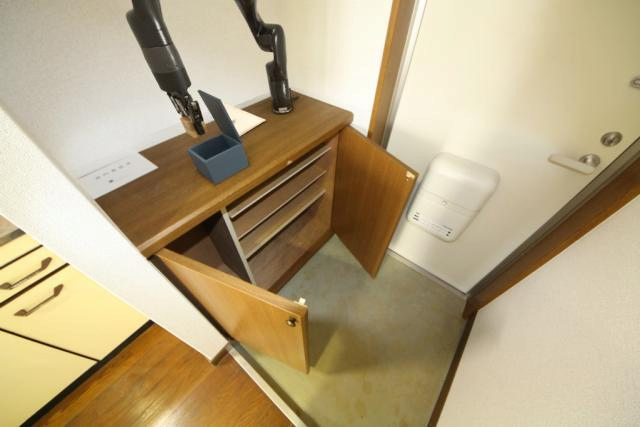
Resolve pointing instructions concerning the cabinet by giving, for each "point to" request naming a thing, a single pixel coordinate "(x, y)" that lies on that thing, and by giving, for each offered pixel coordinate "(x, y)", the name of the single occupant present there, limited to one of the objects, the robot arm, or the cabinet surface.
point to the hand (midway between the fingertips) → (197, 131)
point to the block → (191, 126)
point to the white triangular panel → (242, 119)
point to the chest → (218, 157)
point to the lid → (220, 115)
